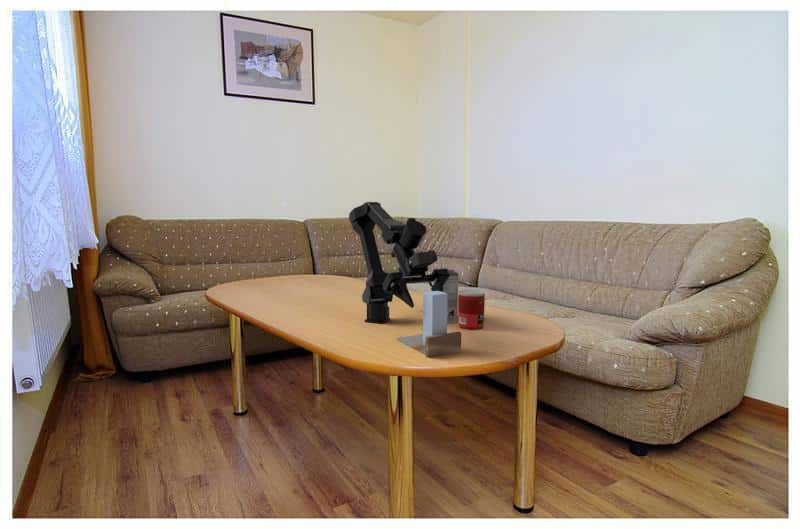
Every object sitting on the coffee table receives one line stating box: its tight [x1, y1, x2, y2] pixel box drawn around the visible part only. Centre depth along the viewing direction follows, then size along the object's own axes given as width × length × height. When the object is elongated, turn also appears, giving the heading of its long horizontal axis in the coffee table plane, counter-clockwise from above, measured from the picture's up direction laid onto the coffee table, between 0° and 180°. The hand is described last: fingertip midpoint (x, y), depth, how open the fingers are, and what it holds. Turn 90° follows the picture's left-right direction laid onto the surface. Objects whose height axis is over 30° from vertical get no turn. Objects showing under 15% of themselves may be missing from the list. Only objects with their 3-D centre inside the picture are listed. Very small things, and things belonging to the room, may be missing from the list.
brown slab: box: [411, 331, 462, 358], centre depth 122 cm, size 9×10×5 cm
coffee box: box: [443, 269, 459, 324], centre depth 153 cm, size 9×6×16 cm
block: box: [422, 290, 448, 346], centre depth 121 cm, size 4×4×15 cm
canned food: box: [457, 289, 486, 331], centre depth 144 cm, size 8×8×11 cm
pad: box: [396, 333, 423, 348], centre depth 130 cm, size 9×9×1 cm
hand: (428, 305), depth 124 cm, fingers open, 9 cm apart
